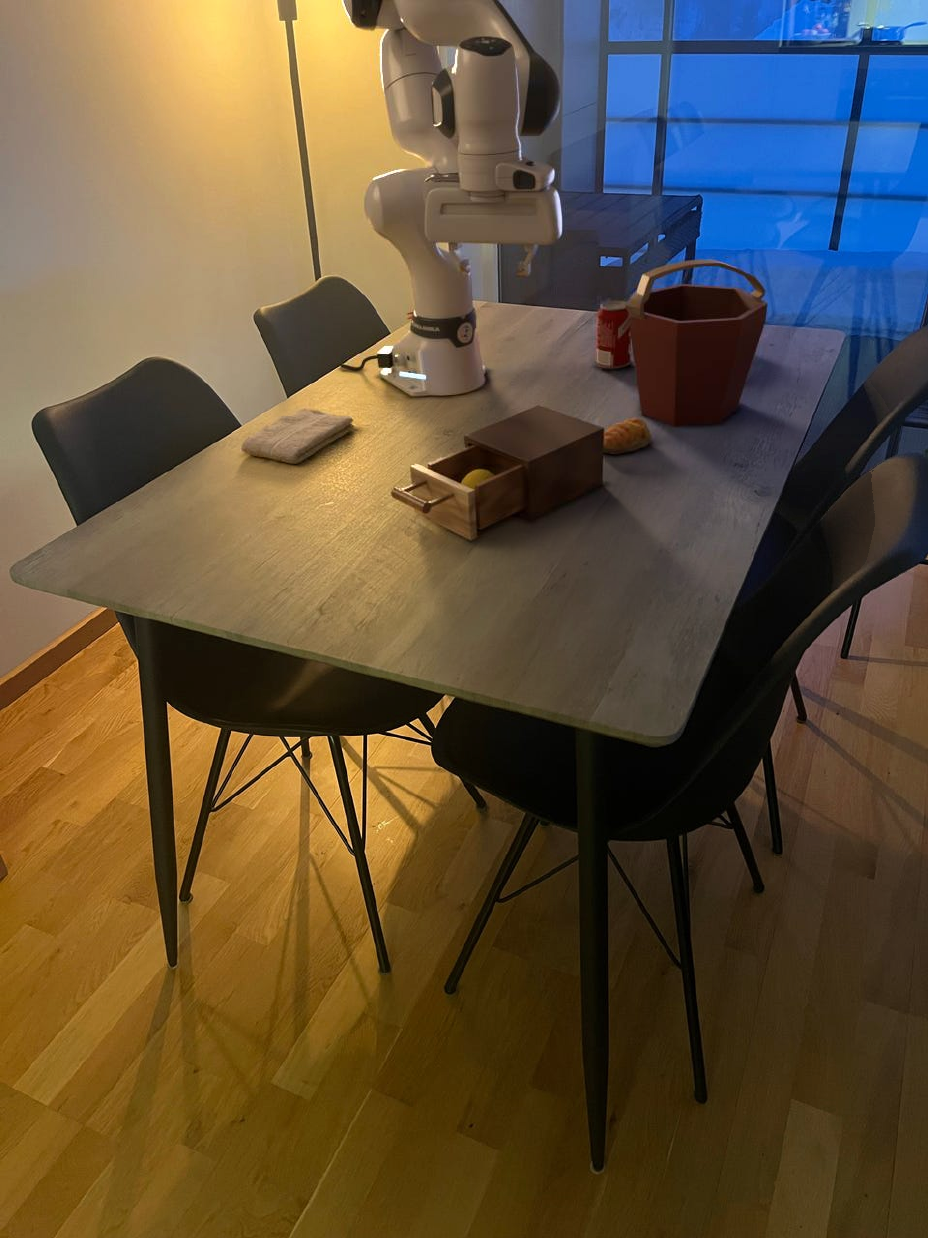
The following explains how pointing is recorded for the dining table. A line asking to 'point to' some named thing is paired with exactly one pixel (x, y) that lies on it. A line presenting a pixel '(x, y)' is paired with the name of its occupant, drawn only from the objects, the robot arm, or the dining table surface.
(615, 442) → the pastry
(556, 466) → the cabinet
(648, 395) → the bucket
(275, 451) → the washcloth
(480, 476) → the lemon
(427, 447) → the dining table surface
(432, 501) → the drawer
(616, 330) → the soda can
